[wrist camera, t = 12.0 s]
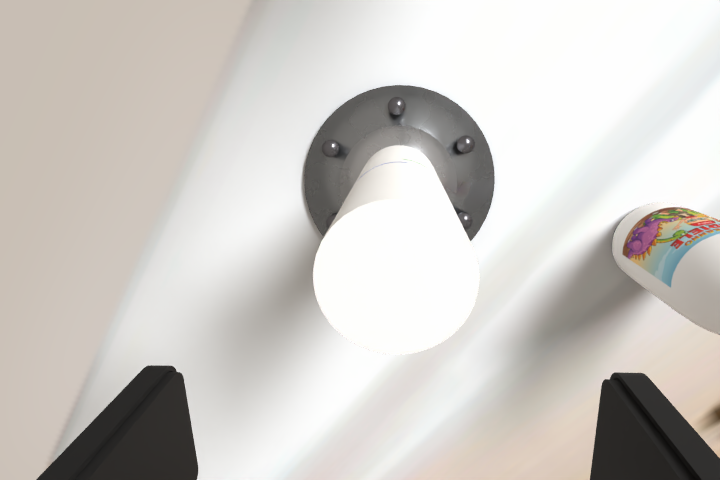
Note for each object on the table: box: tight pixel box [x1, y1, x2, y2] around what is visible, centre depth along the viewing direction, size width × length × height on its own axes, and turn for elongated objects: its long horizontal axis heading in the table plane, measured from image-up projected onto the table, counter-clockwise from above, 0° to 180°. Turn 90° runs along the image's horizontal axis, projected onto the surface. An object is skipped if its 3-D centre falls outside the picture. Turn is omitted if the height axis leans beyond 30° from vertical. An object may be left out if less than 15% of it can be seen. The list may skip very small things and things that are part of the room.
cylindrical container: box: [313, 145, 480, 355], centre depth 32 cm, size 7×7×25 cm
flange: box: [305, 85, 494, 241], centre depth 45 cm, size 18×18×1 cm
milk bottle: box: [612, 202, 720, 335], centre depth 35 cm, size 8×8×20 cm
